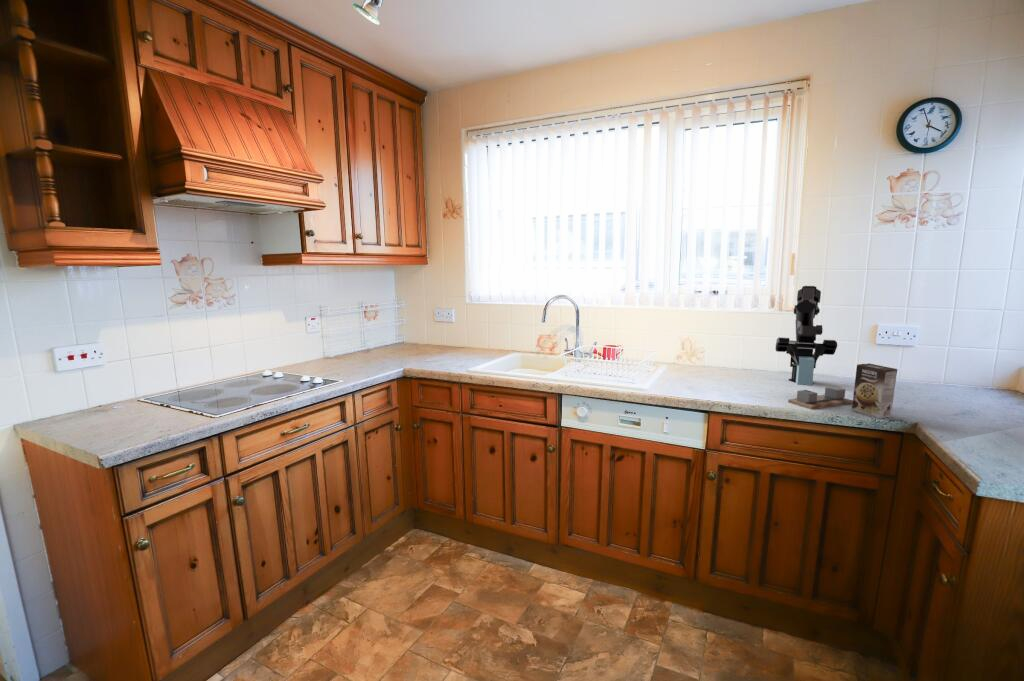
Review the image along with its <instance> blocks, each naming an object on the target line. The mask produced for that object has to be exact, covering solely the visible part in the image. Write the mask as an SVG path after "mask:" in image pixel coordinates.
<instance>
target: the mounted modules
mask: <svg viewBox="0 0 1024 681" xmlns="http://www.w3.org/2000/svg"><path fill="white" fill-rule="evenodd" d="M824 389H825V390H824V395H825V396H829V397H833V398H836V399H837V398H846V397H845V395H846V389H845V388H842V387H837V386H825V388H824ZM796 394H797V395H796V398H797V399H798V400H802V401H805V402H815V401H817V395H818V392H815V391H811V390H808V389H802V390H797V393H796Z"/></svg>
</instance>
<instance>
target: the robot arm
mask: <svg viewBox="0 0 1024 681" xmlns="http://www.w3.org/2000/svg"><path fill="white" fill-rule="evenodd" d="M821 293H822V291H821V290H819V289H818V288H817V286H815V285H804V286H802V287H801V289H799V290H797V296H796V297H797V298H796V302H797V303H796V304H795V305H794V307H793V314H794V315H795V340H791V339H790V337H780V336H779V337H778V338H777V339H776V342H775V351H776V352H778V353H779V352H781V353H786V354H787V355H789V356H790V361H789V362H790V363H789V367H791V368H792V369H791V370H792V371H791V378H788V381H792V382H794V383H796V373H797V365H799V356H804V357H813V358H814V360H815V361H814V369H816V367H817V361H818V359H819V358H820V357H822V356H824V355H828V356H829V355H830V356H831V355H832V356H833V355H835V353H836V350H837V348H838V342H837V341H836V340H834V339H823V341H822V343H816V341H817V336H820V335H822V334H823V331H824V330H823V329H824V328H823V324H822V325H821V324H816V325H814V319H815V318H816V316H818V315H819V314H820V311H821V310H820V308H819V304H820V303H821V297H822V296H821Z"/></svg>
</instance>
